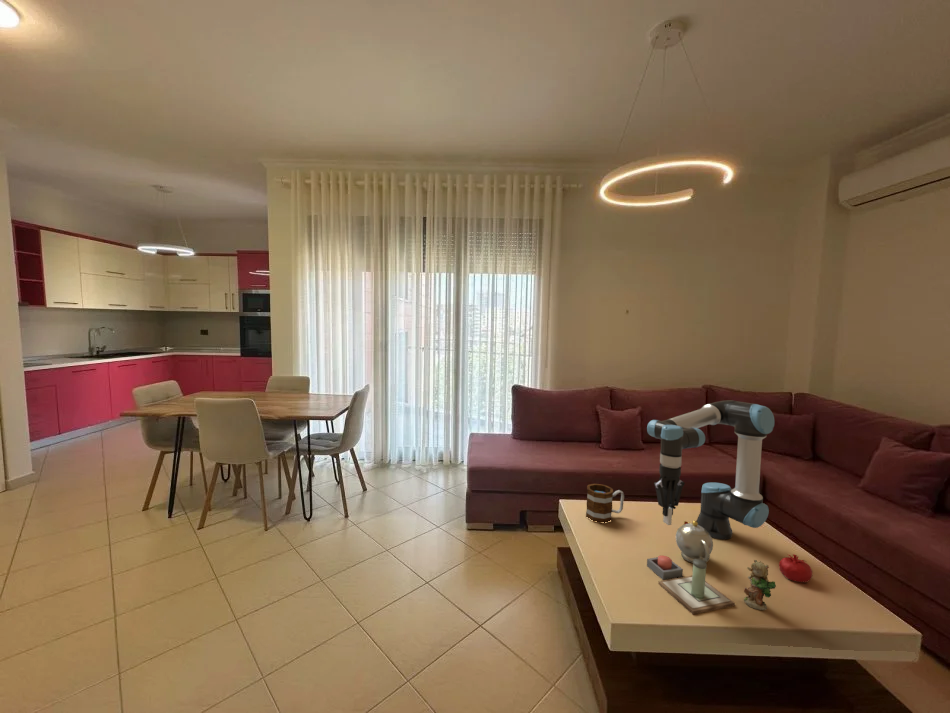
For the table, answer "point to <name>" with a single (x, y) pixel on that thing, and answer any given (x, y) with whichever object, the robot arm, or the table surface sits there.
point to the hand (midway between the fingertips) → (667, 523)
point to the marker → (698, 578)
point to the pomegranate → (795, 569)
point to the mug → (601, 502)
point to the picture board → (682, 594)
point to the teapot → (694, 542)
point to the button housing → (664, 574)
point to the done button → (664, 562)
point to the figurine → (758, 586)
